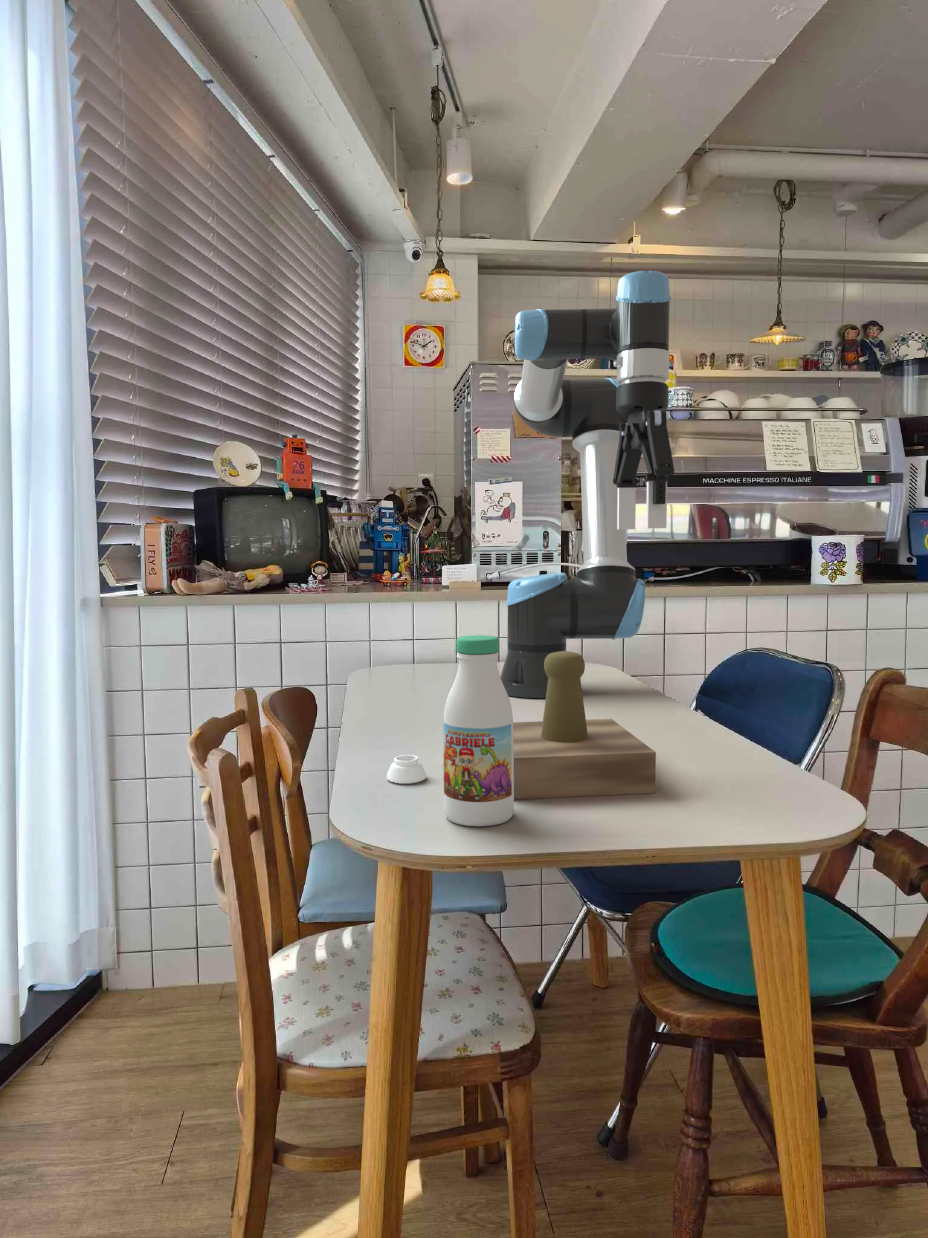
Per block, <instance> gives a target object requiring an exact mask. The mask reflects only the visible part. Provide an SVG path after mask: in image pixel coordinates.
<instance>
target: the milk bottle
mask: <svg viewBox="0 0 928 1238" xmlns="http://www.w3.org/2000/svg"><path fill="white" fill-rule="evenodd" d="M455 647H456V652H457V653H456V658H457V659H458V667H457V672H456V676H455V677H454V681H453V684H452V686H451V688H450V691H449V693H448V695H447V698H446V701H445V706H444V711H443V738H442V739H443V742H442V743H443V751H442V752H443V754H442V755H443V807H444V808H443V809H444V814H445V817H446V819H447V820H449V821H450V822H452V823H454V824H457V825H461V826H466V827H490V826H497V825H501V824H504V823H506V822H508V821H510V819H511V818H512V816H513V814H514V806H515V805H514V804H515V800H514V747H513V722H514V721H513V719H514V718H513V707H512V703H511V700H510V697H509V695H508V694H507V692H506V690H505V688H504V685H503V683H502V681H501V678H500V676H501V674H500V672H499V668H498V664H497V663H498V660H497V659H498V658H499V655H500V654H499V650H500V641H499V638H498V637H496V636H492V635H483V634H482V635H481V634H477V635H476V634H475V635H463V636H459V637H458V638H456V646H455Z"/></svg>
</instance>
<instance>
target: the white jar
mask: <svg viewBox="0 0 928 1238" xmlns="http://www.w3.org/2000/svg"><path fill="white" fill-rule="evenodd" d="M425 779H427V773H426V770H425V768H424V766H423V764H422V763H421V762H420V761H419V757H418V756H417V755H412V754H402V755H401V754H400V755H398V756H395V757H394V758H393V762H392V763H391V764H390V767H389V768H388V771H387V773H386V780H388V782H391V783H393V782H394V783H393V784H397V783H398V784H397V785H412V783H413V784H416V783H420V782H422V781H424V780H425Z"/></svg>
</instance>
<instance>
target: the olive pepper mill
mask: <svg viewBox="0 0 928 1238" xmlns="http://www.w3.org/2000/svg"><path fill="white" fill-rule="evenodd" d="M544 669H545V673H546V675H547V676H548V685H547V693H546V698H545V702H544V711H543V718H542V721H543V724H542V732H541V737H542V738H543V739H545V740H548V741H554V742H578V741H583V740H585V739H587V738H588V733H587V725H586V720H587V719H586V710H585V703H584V695H583V694H584V693H583V689H582V681H581V678H582V676H583V675H584V673H585V670H586V663H585V659H584V658H583V656H582V655H581V654H580V653H577V652H574V651H568V650H566V651H560V652H554V653H550V654H549V655H547V657H546V658H545V661H544Z"/></svg>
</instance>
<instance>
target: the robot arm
mask: <svg viewBox="0 0 928 1238" xmlns="http://www.w3.org/2000/svg"><path fill="white" fill-rule="evenodd" d="M670 291H671V289H670V279H669V277H668V276H667V274H665V273H664V272H661V271H658V270H638V271H637V270H636V271H633V272H629V273H627V274H625V275H623V276H621V277H620V279H619V280H618V282H617V290H616V292H617V294H616V296H615V300H616V307H615V308H613V307H612V308H579V309H578V308H569V309H568V308H566V309H565V308H564V309H563V308H562V309H561V308H560V309H559V308H558V309H557V308H556V309H555V308H554V309H553V308H551V309H550V308H549V309H548V308H547V309H545V308H536V309H528V310H521V311H519V312H518V313H517V314H516V315H515V319H514V320H515V321H514V325H515V326H514V353H515V356H516V357H517V359H519V360H520V361H521V360H523V365H522V372H521V380H520V381H519V382H518V383H517V386H516V387H515V390H514V394H513V395H514V397H513V407H514V409H515V412H516V414H517V416H518V417H519V419H520V420H521V421H522V423H524V424H525V425H526V426H527V427H529V429H531V430H532V431H535V432H536V433H539V434H540V435H544V436H547V437H552V438H571V439H572V441H571V443H572V448H573V449H574V450H575V451H577V452H578V453H579V454H580V459H579V460H580V487H581V488H580V490H581V516H582V517H581V519H582V520H581V522H582V523H581V526H582V555H583V557H582V558H583V559H582V560H583V563H582V565H581V566H580V567H579V568H578V569H577V570H576V572H575V575H576V576H575V579H568V576H567V574H566V573H565V572H554V573H546V574H537V575H531V576H526V577H520V578H516V579H514V580H512V581H510V583H509V584H508V586H507V601H506V603H505V604H506V606H507V641H506V643H507V650H506V651H507V652H506V657H505V660H504V662H503V666H502V669H501V672H500V678H501V681H502V683H503V685H504V688H505V690H506V692H507V694H508V697H509V696H510V697H514V698H523V699H546V693H547V685H548V676H547V675H546V673H545V669H544V661H545V658H546V657H547V655H549V654H550V653H554V652H560V651H567V640H588V639H590V640H591V639H592V640H593V639H595V640H596V639H600V640H602V639H610V640H616V639H630V638H633V637H635V636H636V635H637V633H638V632H639V631H640V628H641V625H642V621H643V616H644V611H645V603H646V587H645V586H646V585H645V581H644V580H643V579H641V578H636V576H637V575H636V568H635V567H634V566H632V565H631V564H630V563H629V562H628V554H627V552H628V551H627V532H626V531H627V530H636V513H637V512H636V510H637V509H636V507H637V506H636V504H637V503H636V499H637V498H636V496H637V494H636V493H637V491H636V490H637V489H636V488H638V483H637V481H636V477H637V474H638V473H637V472H638V469H639V466H640V462H641V458H642V457H643V460H644V465H645V468H646V471H647V473H646V476H645V477H644V478H645V479H644V481H645V482H646V507H645V510H646V511H645V512H646V515H645V516H646V517H645V518H646V520H645V521H646V522H645V526H646V527H645V528H646V529H667V526H668V525H667V521H668V520H667V517H668V516H667V514H668V513H667V511H668V508H667V506H668V481H669V479H670V476H673V475H674V474H675V467H674V460H673V454H672V449H671V443H670V437H669V432H668V426H667V424H668V423H667V422H668V421H667V409H668V408H669V386H668V384H667V383H666V382H667V381H668V380H669V379H670V352H669V350H670V349H669V346H670V345H669V343H670V342H669V341H670V309H671V308H670V306H671V304H670V303H671V300H672V298H671V293H670ZM596 359H597V360H600V359H607V360H608V359H610V360H612V361H613V363H612V364H613V367H614V368H616V378H611V377H605V378H596V379H594V378H591V379H589V378H588V379H586V378H585V379H564V377H565V373H566V369H567V367H568V362H569V360H596Z"/></svg>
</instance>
